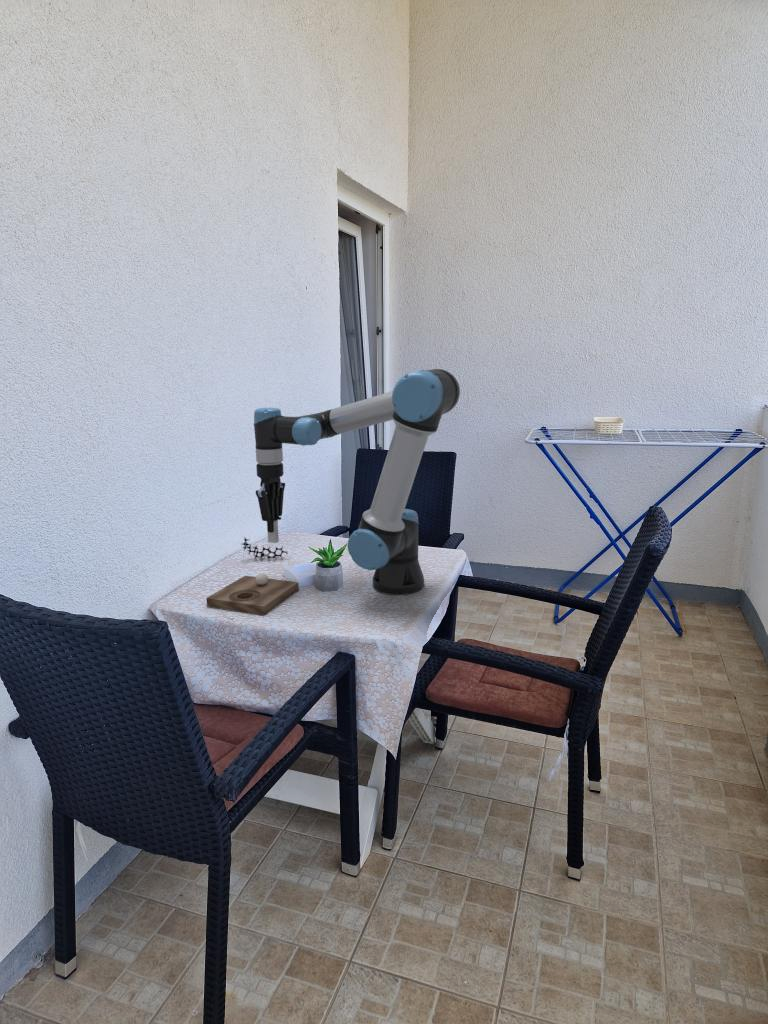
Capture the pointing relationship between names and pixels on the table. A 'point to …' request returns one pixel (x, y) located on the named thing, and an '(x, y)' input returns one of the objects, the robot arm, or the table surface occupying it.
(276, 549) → the molecular model
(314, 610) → the table surface
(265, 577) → the ball
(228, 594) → the wooden board
